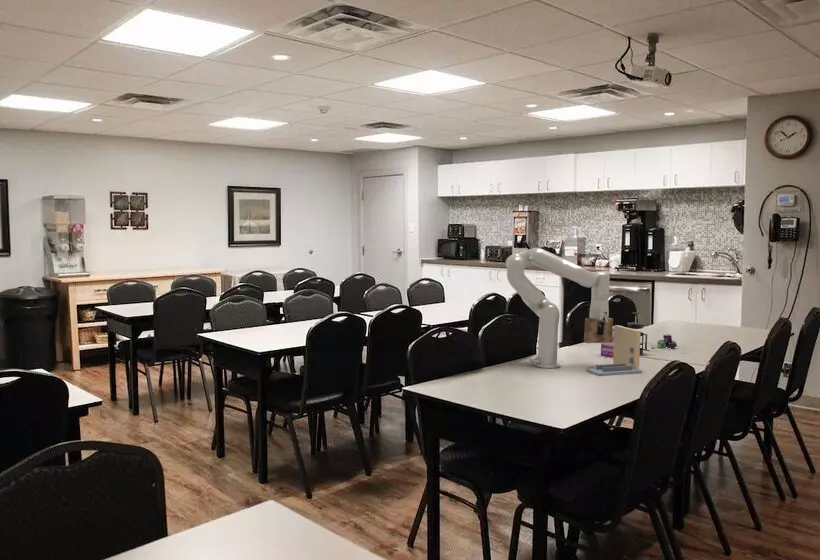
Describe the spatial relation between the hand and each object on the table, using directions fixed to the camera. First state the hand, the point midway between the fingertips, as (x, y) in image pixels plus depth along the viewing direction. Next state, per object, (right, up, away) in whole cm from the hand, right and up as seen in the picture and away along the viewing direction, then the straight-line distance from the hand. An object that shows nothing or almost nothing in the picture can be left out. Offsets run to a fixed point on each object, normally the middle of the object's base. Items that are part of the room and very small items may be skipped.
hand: (598, 333), depth 325 cm
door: (0, -4, 0) cm, 4 cm away
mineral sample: (+55, -14, +57) cm, 80 cm away
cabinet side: (+3, -17, -6) cm, 18 cm away
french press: (+30, -14, +35) cm, 49 cm away
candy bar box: (+15, -15, +27) cm, 34 cm away
